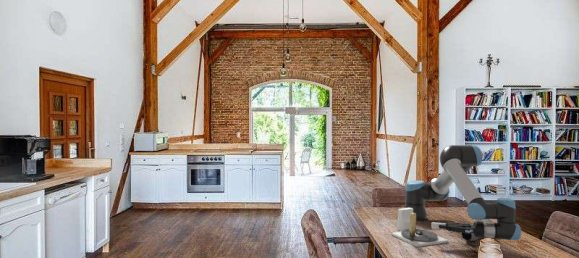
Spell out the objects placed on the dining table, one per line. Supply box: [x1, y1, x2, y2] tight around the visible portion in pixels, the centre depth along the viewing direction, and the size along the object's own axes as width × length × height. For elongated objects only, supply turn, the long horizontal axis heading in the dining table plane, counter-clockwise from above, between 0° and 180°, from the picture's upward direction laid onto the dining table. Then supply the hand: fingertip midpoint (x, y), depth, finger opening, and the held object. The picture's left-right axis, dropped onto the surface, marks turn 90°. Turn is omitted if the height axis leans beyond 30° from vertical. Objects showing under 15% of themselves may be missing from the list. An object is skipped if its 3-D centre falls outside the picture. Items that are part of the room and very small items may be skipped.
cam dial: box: [400, 213, 439, 241], centre depth 194 cm, size 18×18×13 cm
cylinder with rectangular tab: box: [396, 207, 413, 232], centre depth 210 cm, size 9×9×12 cm
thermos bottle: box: [461, 219, 493, 242], centre depth 197 cm, size 8×8×28 cm
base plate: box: [391, 231, 449, 247], centre depth 194 cm, size 20×20×3 cm
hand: (431, 225), depth 186 cm, fingers closed
